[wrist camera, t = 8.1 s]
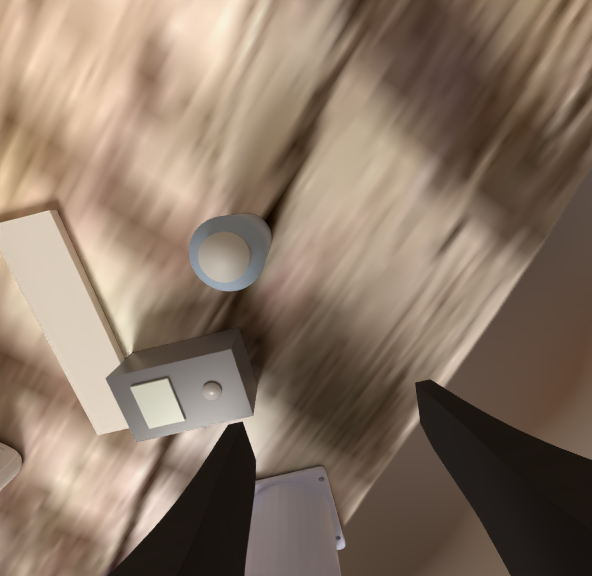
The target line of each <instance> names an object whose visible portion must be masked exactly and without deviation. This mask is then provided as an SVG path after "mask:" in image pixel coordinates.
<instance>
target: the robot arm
mask: <svg viewBox="0 0 592 576" xmlns="http://www.w3.org/2000/svg"><path fill="white" fill-rule="evenodd" d="M415 385H416V393H417V400H418V408H419V415H420V423H421V425H422V427H423V429H424V431H425V433H426V435H427V437H428V439H429V441H430V443H431V445H432V447H433V449H434V450H435V452H436V453H437V455H438V456H439V458H440V459H441V461H442V462H443V464H444V465H445V467H446V469H447V470H448V471H449V473H450V475H451V476H452V478H453V479H454V481H455V482H456V484H457V485H458V486H459V488H460V490H461V491H462V493H463V494H464V495H465V497H466V499H467V500H468V502H469V503H470V505H471V506H472V508H473V509H474V510H475V512H476V514H477V516H478V517H479V519H480V521H481V522H482V524H483V526H484V528H485V529H486V531H487V533H488V535H489V537H490V538H491V540H492V542H493V544H494V546H495V547H496V549H497V551H498V553H499V555H500V556H501V558H502V560H503V562H504V564H505V566H506V568H507V569H508V571H509V573H510V575H511V576H592V460H590V459H587V458H585V457H582V456H580V455H577V454H574V453H572V452H569V451H567V450H564V449H561V448H559V447H556V446H554V445H551V444H549V443H547V442H544V441H542V440H540V439H538V438H535V437H533V436H531V435H529V434H526V433H524V432H522V431H520V430H517V429H516V428H513V427H512V426H510V425H508V424H506V423H504V422H502V421H500V420H498V419H496V418H494V417H492V416H490V415H489V414H487V413H485V412H483V411H481V410H480V409H478V408H476V407H474V406H473V405H471V404H469V403H467V402H466V401H464V400H462V399H461V398H459V397H457V396H456V395H454V394H453V393H451V392H450V391H448V390H446V389H445V388H443V387H442V386H440V385H438V384H437V383H435V382H434V381H432V380H425V381H421V382H416V383H415ZM320 477H322V478H320ZM344 547H345V540H344V536H343V532H342V529H341V525H340V521H339V518H338V514H337V510H336V507H335V503H334V499H333V496H332V492H331V488H330V485H329V481H328V477H327V473H326V470H325V468H324V467H321V466H319V467H314V468H310V469H305V470H301V471H297V472H292V473H288V474H283V475H279V476H275V477H270V478H266V479H262V480H257V481H256V459H255V456H254V453H253V450H252V447H251V444H250V442H249V439H248V436H247V433H246V430H245V427H244V424H243V422H238V423H234V424H229V425H228V426H227V428H226V429H225V431H224V432H223V434H222V435H221V437H220V438H219V440H218V441H217V443H216V445H215V446H214V448H213V449H212V451H211V452H210V454H209V456H208V457H207V459H206V460H205V462H204V463H203V465H202V466H201V468H200V469H199V471H198V472H197V474H196V475H195V476H194V478H193V479H192V481H191V482H190V483H189V485H188V486H187V488H186V489H185V490H184V492H183V493H182V494H181V496H180V497H179V498H178V500H177V501H176V502H175V503H174V505H173V506H172V507H171V508H170V510H169V511H168V512H167V513H166V514H165V516H164V517H163V518H162V519H161V520H160V522H159V523H158V524H157V525H156V526H155V527H154V529H153V530H152V531H151V532H150V533H149V534H148V535H147V536H146V537H145V538H144V539H143V540H142V541H141V543H140V544H139V545H138V546H137V547H136V548H135V549H134V550H133V551H132V552H131V553H130V554H129V555H128V556H127V557H126V558H125V559H124V560H123V561H122V562H121V563H120V564H119V565H118V566H117V567H116V568H115V569H114V570H113V571H112V572H111V573H110V574H109V575H108V576H341V573H340V567H339V560H338V554H337V550H340V549H343V548H344Z"/></svg>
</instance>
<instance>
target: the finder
mask: <svg viewBox="0 0 592 576" xmlns="http://www.w3.org/2000/svg"><path fill="white" fill-rule="evenodd" d="M105 379H106V381H107V383H108V385H109V387H110V389H111V391H112V393H113V395H114V397H115V399H116V401H117V404H118V406H119V408H120V410H121V412H122V414H123V416H124V418H125V420H126V422H127V424H128V426H129V428H130V430H131V432H132V434H133V436H134V439H135V441H136V442H140V441H145V440H149V439H153V438H158V437H162V436H167V435H171V434H175V433H180V432H184V431H188V430H193V429H197V428H202V427H206V426H210V425H215V424H219V423H224V422H228V421H232V420H237V419H241V418H246V417H250V416H253V414H254V408H255V401H256V394H257V387H258V386H257V382H256V379H255V376H254V373H253V370H252V367H251V363H250V360H249V357H248V354H247V351H246V347H245V344H244V341H243V338H242V335H241V332H240V328H239V327H238V328H234V329H230V330H226V331H221V332H217V333H213V334H209V335H204V336H200V337H196V338H192V339H188V340H183V341H179V342H175V343H171V344H166V345H162V346H158V347H154V348H150V349H145V350H141V351H137V352H133V353H131V354H130V355H129V356H128V357H127V358H126V359H125V360H124V361H123V362H122V363H121V364H120V365H119V366H118V367H117V368H116V369H115V370H114V371H113V372H112V373H110V374H109V375H108V376H107V377H106V378H105Z"/></svg>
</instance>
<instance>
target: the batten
mask: <svg viewBox="0 0 592 576" xmlns="http://www.w3.org/2000/svg"><path fill="white" fill-rule="evenodd" d="M0 252H1V254H2V256H3V258H4V260H5V262H6V263H7V265H8V267H9V269H10V271H11V273H12V275H13V277H14V278H15V280H16V282H17V284H18V286H19V288H20V290H21V292H22V294H23V295H24V297H25V299H26V301H27V303H28V305H29V307H30V309H31V310H32V312H33V314H34V316H35V318H36V320H37V322H38V324H39V326H40V327H41V329H42V331H43V333H44V335H45V337H46V339H47V341H48V342H49V344H50V346H51V348H52V350H53V352H54V354H55V356H56V358H57V359H58V361H59V363H60V365H61V367H62V369H63V371H64V373H65V374H66V376H67V378H68V380H69V382H70V384H71V386H72V388H73V390H74V391H75V393H76V395H77V397H78V399H79V401H80V403H81V405H82V406H83V408H84V410H85V412H86V414H87V416H88V418H89V420H90V422H91V423H92V425H93V427H94V429H95V431H96V433H97V435H101V434H105V433H110V432H114V431H118V430H122V429H127V428H129V426H128V424H127V422H126V420H125V418H124V416H123V414H122V412H121V410H120V408H119V406H118V404H117V401H116V399H115V397H114V395H113V393H112V391H111V389H110V387H109V385H108V383H107V381H106V379H105V378H106V377H107V376H108V375H109V374H110V373H112V372H113V371H114V370H115V369H116V368H117V367H118V366H119V365H120V364H121V363H122V362H123V361H124V360H125V358H124V356H123V354H122V351H121V349H120V347H119V345H118V343H117V341H116V338H115V336H114V334H113V332H112V330H111V327H110V325H109V323H108V321H107V319H106V316H105V314H104V312H103V310H102V308H101V306H100V303H99V301H98V299H97V297H96V295H95V292H94V290H93V288H92V286H91V284H90V281H89V279H88V277H87V275H86V273H85V271H84V268H83V266H82V264H81V262H80V260H79V257H78V255H77V253H76V251H75V249H74V247H73V244H72V242H71V240H70V238H69V236H68V233H67V231H66V229H65V227H64V225H63V222H62V220H61V218H60V216H59V214H58V212H57V210H48V211H44V212H40V213H36V214H33V215H29V216H25V217H21V218H17V219H13V220H9V221H5V222H1V223H0Z"/></svg>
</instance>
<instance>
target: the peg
mask: <svg viewBox="0 0 592 576" xmlns="http://www.w3.org/2000/svg"><path fill="white" fill-rule="evenodd" d="M271 242H272V235H271V231H270V228H269V226H268V225H267V223H266V222H265V221H264V220H263V219H262V218H260V217H259V216H257V215H254V214H250V213H242V214H235V215H227V216H220V217H215V218H212V219H209V220H207V221H206V222H204V223H203V224H201V225H200V226H199V227H198V228H197V230H196V231H195V232H194V234H193V236H192V238H191V241H190V245H189V258H190V262H191V265H192V268H193V270H194V271H195V273H196V274H197V276H198V277H199V278H200V279H201V280H202V281H203V282H204V283H206V284H207V285H209V286H210V287H212V288H215V289H218V290H222V291H237V290H241V289H243V288H246V287H248V286H249V285H251V284H252V283H253V282H254V281H255V280H256V279H257V278H258V277H259V275H260V274H261V272H262V270H263V267H264V264H265V261H266V258H267V255H268V252H269V249H270V246H271Z"/></svg>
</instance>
